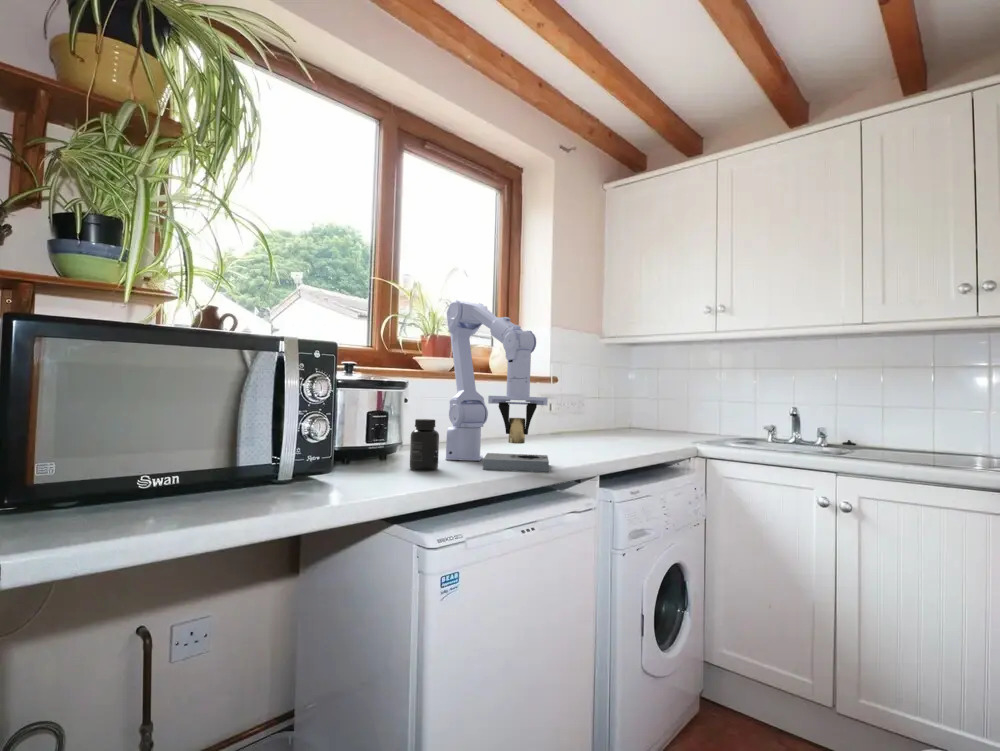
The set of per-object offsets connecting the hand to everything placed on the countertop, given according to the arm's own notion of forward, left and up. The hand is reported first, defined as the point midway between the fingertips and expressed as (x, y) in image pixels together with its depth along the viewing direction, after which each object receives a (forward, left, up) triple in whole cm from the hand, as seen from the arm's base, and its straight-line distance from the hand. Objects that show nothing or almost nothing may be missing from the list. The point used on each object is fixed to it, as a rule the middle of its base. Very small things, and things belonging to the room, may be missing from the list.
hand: (516, 433), depth 129 cm
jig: (0, +5, -9) cm, 10 cm away
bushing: (0, 0, -2) cm, 2 cm away
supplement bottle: (-22, -4, -9) cm, 24 cm away
